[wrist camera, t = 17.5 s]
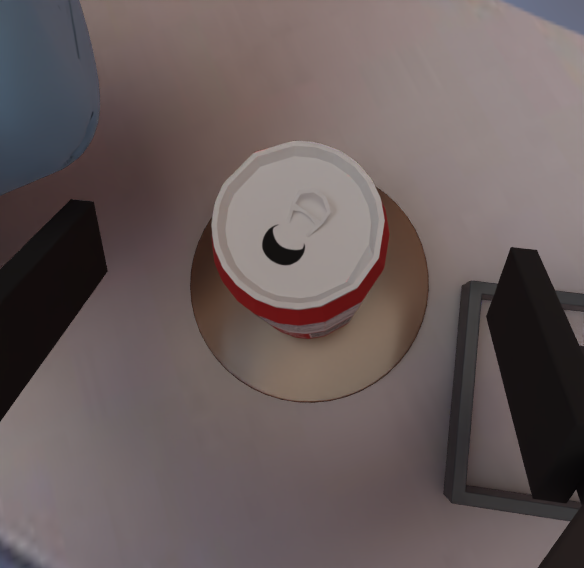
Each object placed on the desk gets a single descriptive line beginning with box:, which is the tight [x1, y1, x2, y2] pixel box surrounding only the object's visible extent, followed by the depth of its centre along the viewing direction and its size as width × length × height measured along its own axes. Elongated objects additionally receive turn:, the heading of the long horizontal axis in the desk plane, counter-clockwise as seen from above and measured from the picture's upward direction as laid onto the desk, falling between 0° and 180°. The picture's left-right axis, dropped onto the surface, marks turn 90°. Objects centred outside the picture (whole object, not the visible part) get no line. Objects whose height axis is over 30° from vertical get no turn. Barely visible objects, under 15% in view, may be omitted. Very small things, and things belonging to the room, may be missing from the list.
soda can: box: [211, 140, 390, 339], centre depth 20 cm, size 6×6×12 cm
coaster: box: [190, 186, 429, 403], centre depth 27 cm, size 12×12×1 cm
